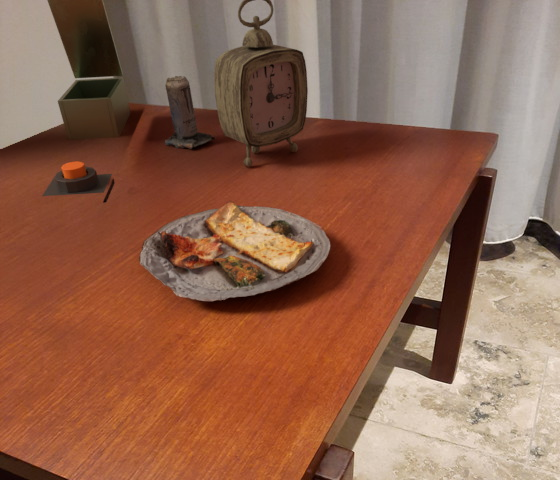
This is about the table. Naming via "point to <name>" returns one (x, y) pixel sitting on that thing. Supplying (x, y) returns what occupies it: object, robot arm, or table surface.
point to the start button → (74, 170)
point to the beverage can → (183, 115)
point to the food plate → (234, 251)
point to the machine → (95, 108)
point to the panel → (80, 184)
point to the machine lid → (86, 37)
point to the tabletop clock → (261, 90)
